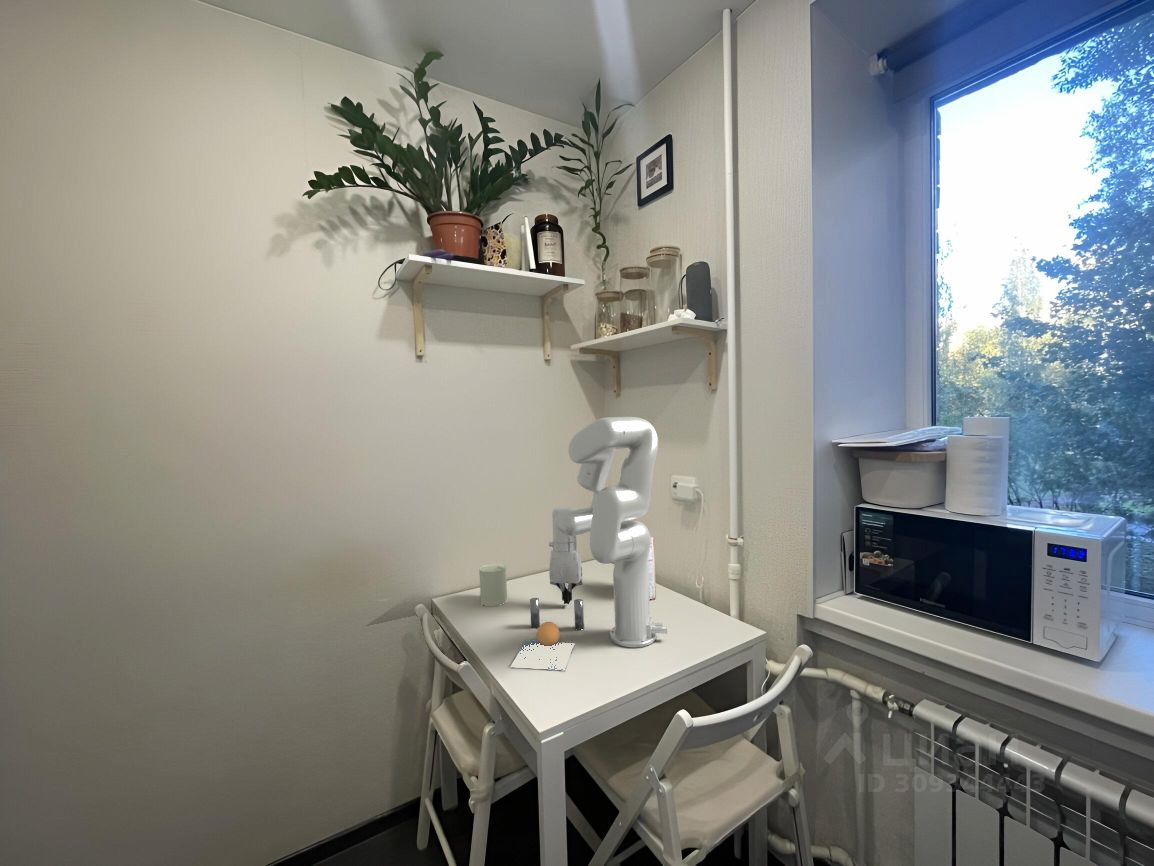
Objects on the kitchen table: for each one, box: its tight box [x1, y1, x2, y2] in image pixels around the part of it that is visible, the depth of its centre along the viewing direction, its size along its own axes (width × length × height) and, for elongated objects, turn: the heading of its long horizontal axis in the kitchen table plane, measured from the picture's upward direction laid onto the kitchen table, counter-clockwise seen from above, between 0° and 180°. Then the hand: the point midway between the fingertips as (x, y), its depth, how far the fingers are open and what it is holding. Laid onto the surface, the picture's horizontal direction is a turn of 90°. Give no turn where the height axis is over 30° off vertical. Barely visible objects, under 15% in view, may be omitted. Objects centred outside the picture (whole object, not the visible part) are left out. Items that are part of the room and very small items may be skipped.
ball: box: [536, 621, 560, 646], centre depth 121 cm, size 6×6×6 cm
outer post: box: [529, 597, 541, 629], centre depth 132 cm, size 3×3×8 cm
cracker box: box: [648, 535, 657, 601], centre depth 155 cm, size 14×6×21 cm, turn 24°
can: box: [478, 563, 509, 607], centre depth 154 cm, size 9×9×12 cm
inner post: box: [573, 598, 585, 631], centre depth 130 cm, size 3×3×8 cm
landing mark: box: [514, 639, 572, 671], centre depth 116 cm, size 14×14×1 cm
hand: (567, 602), depth 146 cm, fingers closed
